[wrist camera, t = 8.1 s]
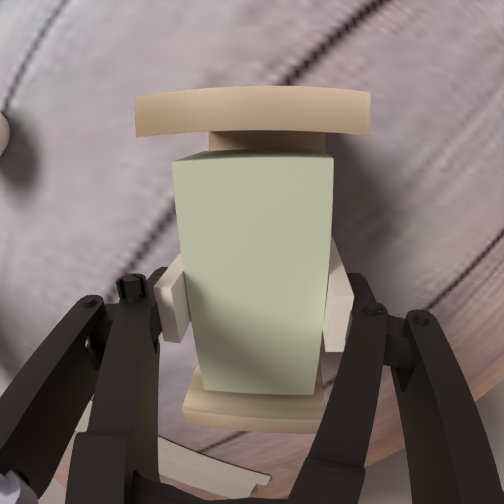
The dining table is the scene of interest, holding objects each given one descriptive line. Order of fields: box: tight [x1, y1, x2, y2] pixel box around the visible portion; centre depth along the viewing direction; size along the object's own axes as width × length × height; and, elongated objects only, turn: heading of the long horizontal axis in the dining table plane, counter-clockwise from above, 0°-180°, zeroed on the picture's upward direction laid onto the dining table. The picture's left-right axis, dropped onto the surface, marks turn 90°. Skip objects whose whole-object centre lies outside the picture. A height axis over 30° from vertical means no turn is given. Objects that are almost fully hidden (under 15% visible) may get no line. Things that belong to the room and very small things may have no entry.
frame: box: [135, 86, 370, 434], centre depth 18 cm, size 17×8×12 cm, turn 1°
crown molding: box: [75, 400, 271, 499], centre depth 39 cm, size 31×12×4 cm, turn 61°
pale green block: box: [172, 149, 334, 395], centre depth 15 cm, size 12×6×5 cm, turn 2°
